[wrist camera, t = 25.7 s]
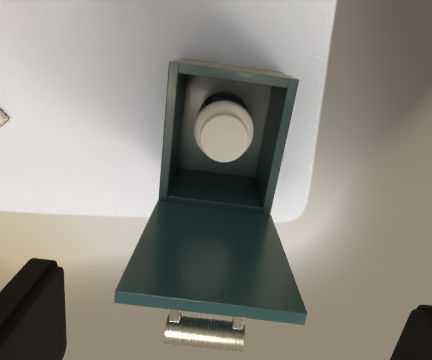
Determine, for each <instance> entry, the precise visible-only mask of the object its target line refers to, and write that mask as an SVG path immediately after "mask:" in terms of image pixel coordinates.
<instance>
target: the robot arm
mask: <svg viewBox="0 0 432 360" xmlns="http://www.w3.org/2000/svg"><path fill="white" fill-rule="evenodd" d="M65 350H66V317H65V292H64V271H63V268H62V267H58V265H57V262H56V261H54V260H45V259H37V258H32V259H30V260H29V261H28V262H27V263H26V264H25V265H24V266H23V267H22V269H21V270H20V271H19V272H18V273H17V274H16V275H15V276H14V277H13V279H12V280H11V281H10V282H9V283H8V284H7V285H6V286H5V287H4V288H3V289H2V291H1V292H0V360H62V359H63V357H64V354H65ZM390 360H432V306H430V305H420V306H418V307H417V309H415V310H413V311H412V312H411V313H410V316H409V318H408V320H407V322H406V324H405V327H404V329H403V331H402V334H401V336H400V338H399V340H398V343H397V345H396V347H395V350H394V352H393V354H392V356H391V359H390Z"/></svg>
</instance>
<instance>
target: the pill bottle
mask: <svg viewBox="0 0 432 360" xmlns="http://www.w3.org/2000/svg"><path fill="white" fill-rule="evenodd" d="M253 132H254V128H253V122H252V119H251V117H250V114H249V112H248V109H247V107H246V105H245V103H244V102H243V101H242V100H241V99H240V98H239V97H238V96H236V95H234V94H232V93H228V92H219V93H216V94H213V95H211V96H210V97H208V98H207V99H206V100H205V101H204V102H203V104H202V106H201V107H200V110H199V113H198V115H197V118H196V121H195V125H194V135H195V139H196V142H197V144H198V146H199V148H200V149H201V150H202V151H203V152H204V153H205V154H206V155H207V156H208V157H210V158H211V159H213V160H215V161H218V162H230V161H233V160H235V159H237V158H239V157H240V156H241V155H242V154H243V153H244V152H245V151H246V150H247V149H248V147H249V146H250V144H251V141H252V138H253Z"/></svg>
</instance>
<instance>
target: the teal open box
mask: <svg viewBox="0 0 432 360" xmlns="http://www.w3.org/2000/svg"><path fill="white" fill-rule="evenodd" d="M298 82H299V80H298V79H296V78H293V77H291V76H289V75H286V74H284V73H281V72H275V71H268V70H261V69H254V68H247V67H240V66H233V65H226V64H219V63H211V62H204V61H197V60H190V59H183V58H181V59H178V60H174V61H170V62H169V71H168V84H167V97H166V110H165V123H164V136H163V149H162V162H161V175H160V188H159V201H163V202H171V203H179V204H186V205H194V206H202V207H210V208H218V209H226V210H234V211H242V212H250V213H257V214H265V215H270V212H271V208H272V203H273V198H274V194H275V189H276V184H277V180H278V175H279V170H280V166H281V161H282V156H283V152H284V147H285V142H286V138H287V133H288V129H289V124H290V119H291V115H292V110H293V105H294V101H295V96H296V91H297V87H298ZM219 92H228V93H232V94H234V95H236V96H238V97H239V98H240V99H241V100H242V101H243V102H244V103H245V105H246V107H247V109H248V112H249V114H250V117H251V119H252V122H253V128H254V132H253V138H252V141H251V144H250V146H249V147H248V149H247V150H246V151H245V152H244V153H243V154H242V155H241V156H240V157H239V158H237V159H235V160H233V161H230V162H218V161H215V160H213V159H211V158H210V157H208V156H207V155H206V154H205V153H204V152H203V151H202V150H201V149H200V148H199V146H198V144H197V142H196V139H195V135H194V125H195V121H196V118H197V115H198V113H199V110H200V107H201V106H202V104H203V102H204V101H205V100H206V99H207V98H208V97H210V96H211V95H213V94H216V93H219Z"/></svg>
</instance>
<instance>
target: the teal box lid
mask: <svg viewBox="0 0 432 360" xmlns="http://www.w3.org/2000/svg"><path fill="white" fill-rule="evenodd" d="M114 302H115V303H121V304H129V305H138V306H147V307H155V308H164V309H170V313H168V316H167V321H166V327H165V334H164V343H166V344H174V345H183V346H192V347H202V348H211V349H219V350H228V351H237V352H242V351H243V348H244V341H245V324H244V320H245V318H250V319H258V320H267V321H276V322H284V323H293V324H301V325H304V324H305V320H306V316H307V312H306V309H305V306H304V303H303V301H302V298H301V295H300V293H299V290H298V287H297V285H296V282H295V279H294V276H293V274H292V271H291V268H290V266H289V263H288V260H287V257H286V255H285V252H284V250H283V247H282V244H281V241H280V238H279V236H278V233H277V230H276V228H275V225H274V222H273V220H272V217H271V215H265V214H257V213H250V212H242V211H234V210H226V209H218V208H210V207H202V206H194V205H186V204H179V203H171V202H163V201H158V202H157V204H156V206H155V208H154V210H153V212H152V214H151V216H150V218H149V221H148V223H147V225H146V227H145V229H144V231H143V233H142V235H141V238H140V239H139V242H138V244H137V246H136V248H135V250H134V252H133V254H132V256H131V259H130V261H129V263H128V265H127V267H126V269H125V271H124V273H123V276H122V277H121V279H120V282H119V284H118V286H117V288H116V290H115V300H114ZM181 311H190V312H198V313H207V314H216V315H224V316H232V320H225V319H217V318H208V317H199V316H191V315H182V314H181Z"/></svg>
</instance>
